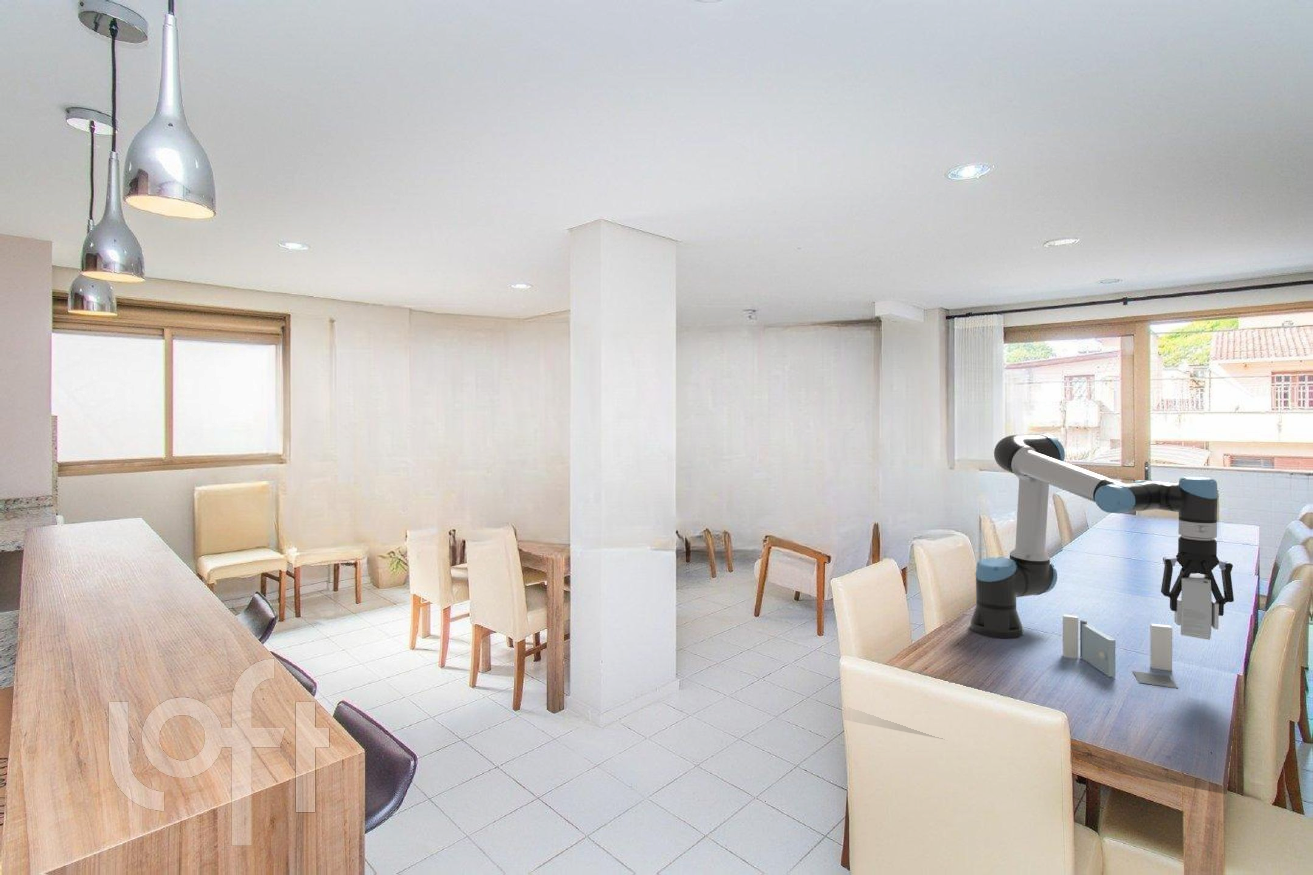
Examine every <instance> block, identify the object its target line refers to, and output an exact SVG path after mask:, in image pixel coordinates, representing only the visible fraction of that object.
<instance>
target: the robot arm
mask: <svg viewBox="0 0 1313 875" xmlns="http://www.w3.org/2000/svg"><path fill="white" fill-rule="evenodd" d="M993 455H994V456H993V457H994V461H995V462H996V464H997V465H998V467H1000V468H1001V469H1003V470H1004V471H1007V472H1008V473H1011V474H1014V475H1015V476H1016V477H1017V478H1018V490H1017V491H1018V492H1017V493H1018V494H1017V508H1016V510H1017V511H1016V512H1017V513H1016V527H1015V544H1014V547H1015V548H1014V549H1012V550H1011V551H1009V557H1001V556H1000V557H999V556H998V557H994V556H993V557H987V558H982V559H980V560H978V562H977V563H976V566H975V567H976V570H975V594H976V595H975V597H976V600H975V601H976V602H975V603H976V604H975V605H976V606H975V608H974V611H973V613H972V616H971V618H970V629H971V630H972V631H973V632H975V633H978V634H979V635H983V636H986V637H990V638H991V637H992V638H999V639H1015V638H1020V637H1021V636H1023V631H1024V630H1023V625H1022V621H1021V619H1020V617H1019V613H1018V611H1017V598H1021V597H1029V596H1040V595H1043V594H1046V593H1049V592H1050V591H1051V590H1052V589H1054V588H1055V586H1056V585H1057V582H1058V571H1057V569H1056V568H1055V565H1054V564H1053V562H1051V556H1050V555H1048V554H1047V553H1046V542H1047V541H1046V540H1047V523H1048V522H1047V521H1048V509H1049V492H1050V491H1049V490H1050V485H1051V486H1053V487H1056V488H1058V489H1061V490H1063V491H1065V492H1068V493H1070V494H1074V495H1076V496H1078V497H1080V498H1083V499H1086V500H1088V501H1091V502H1092V503H1095V504H1096V506H1097V507H1098V508H1099V509H1100V510H1101V511H1103V512H1105V513H1108V514H1125V513H1131V512H1132V513H1133V512H1143V511H1153V510H1161V511H1168V512H1169V511H1170V512H1175V513H1177V512H1178V531H1177V532H1178V535H1180V536H1179V537H1178V539H1177V540H1178V542H1177V543H1178V544H1177V545H1178V547H1177V551H1178V552H1177V554H1176V556H1174V557H1167V556H1165V557H1164V556H1163V558H1162V561H1163V565H1164V568H1163V576H1162V582H1161V587H1160V593H1161V594H1162V595H1163V596H1164V597H1168V598H1169V609H1170V611H1172V612H1174V614H1173V615H1174V618H1173V619H1174V620H1173V621H1174V624H1176V625H1177V626H1181V598H1179V597H1180V596H1181V594H1182V578H1188V577H1189V576H1190V574H1199V575H1205V577H1206V578H1208V579H1209V580H1211V594H1212V596H1213V598H1214V600H1212V625H1211V628H1213V629H1214V630H1219V625H1220V624H1219V622H1220V620H1219V618H1220V617H1223V616H1224V614H1225V605H1226V603H1234V601H1235V599H1234V598H1235V597H1234V590H1233V580H1232V571H1233V568H1234V565H1233V564H1232V563H1231V562H1229V561H1226V560H1225V561H1223V560H1219V558H1218V556H1217V555H1218V554H1217V553H1218V550H1217V549H1218V541H1217V540H1216V538H1218V517H1217V516H1218V500H1219V493H1218V492H1219V491H1218V483H1217V481H1216V480H1215V478H1212V477H1205V476H1204V477H1203V476H1200V477H1199V476H1182V477H1181V478H1179V481H1178V482H1177V483H1176V482H1175V483H1174V482H1164V481H1157V480H1151V479H1146V480H1145V479H1144V480H1143V479H1142V480H1141V479H1138V480H1134V481H1133V482H1131V483H1125V482H1121V481H1118V480H1115V479H1113V478H1110V477H1107V476H1104V475H1101V474H1098V473H1096V472H1092V471H1090V470H1088V469H1085V468H1081V467H1079V466H1076V465H1073V464H1071V463H1068V462H1064V461H1065V457H1066V451H1065V448H1064V446H1063V444H1062V442H1060V441H1059V439H1057V438H1056V437H1055V436H1054V435H1051V434H1044V433H1043V434H1041V433H1034V434H1033V433H1030V434H1014V435H1012V434H1011V435H1008V436H1005V437H1003V438H1001V439H1000V440H999V441H998V443H997V444H996V445H995V446H994V449H993ZM1176 563H1178V564H1179V565H1180V566H1181V568H1180V571H1179V574H1178V576H1177V577H1176V580H1175V582H1174V584H1173V585H1172V586H1173V587H1172V588H1171V584H1172V578H1173V571H1174V568H1173V567H1175V566H1176ZM1217 566H1218V568H1219V569H1220V570H1221V571H1220V572H1221V574H1220V575H1221V581H1222V582H1221V583H1222V587H1223V594H1222V593H1221V590H1220V588H1219V585H1218V584H1217V581H1216V578H1215V575H1214V573H1213V570H1214V569H1215V568H1216V567H1217Z"/></svg>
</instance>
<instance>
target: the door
mask: <svg viewBox="0 0 1313 875" xmlns="http://www.w3.org/2000/svg"><path fill="white" fill-rule="evenodd" d="M1079 624H1080V625H1079V627H1080V628H1079V630H1080V634H1079V636H1080V638H1079V643H1080V644H1079V645H1080V646H1079V647H1080V650H1079V654H1080V655H1079V657H1080V658H1082V660H1084V661H1085V662H1087V663H1089V664H1090V665H1091V666H1092V667H1094V668H1096V669H1097V670H1099V671H1100V672H1101V673H1103V674H1105V675H1106V677H1110V678H1115V677H1116V640H1115V639H1114V638H1112V637H1111V636H1109V635H1107V634H1105V633H1104V632H1102V631H1100V630H1099V629H1097V628H1095V627H1094V626H1092V625H1091V624H1088V621H1087V620H1080V621H1079Z"/></svg>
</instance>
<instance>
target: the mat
mask: <svg viewBox="0 0 1313 875" xmlns="http://www.w3.org/2000/svg"><path fill="white" fill-rule="evenodd" d="M1132 674H1133V675H1134V677H1135V678H1136V681H1138V683H1139V684H1142V685H1150V686H1157V687H1165V688H1172V689H1179V687H1178V686H1177V684H1176V683H1175V681H1173V679H1172V678H1171V676H1170V675H1165V674H1159V673H1158V674H1157V673H1150V672H1149V673H1148V672H1144V671H1143V672H1142V671H1136V670H1133V671H1132Z"/></svg>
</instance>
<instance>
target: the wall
mask: <svg viewBox="0 0 1313 875" xmlns="http://www.w3.org/2000/svg"><path fill="white" fill-rule="evenodd" d="M1149 629H1150V634H1149V635H1150V636H1149V638H1150V639H1149V641H1150V644H1149V645H1150V647H1149V648H1150V649H1149V650H1150V652H1149V653H1150V654H1149V655H1150V657H1149V658H1150V659H1149V661H1150V663H1149V665H1150V667H1151V669H1154V670H1155V669H1156V670H1164V671H1169V672H1170V671H1171V672H1172V671H1173V627H1172V626H1171V625H1168V624H1158V623H1150V627H1149ZM1062 655H1063V658H1071V659H1079V617H1078V615H1071V614H1062Z"/></svg>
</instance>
